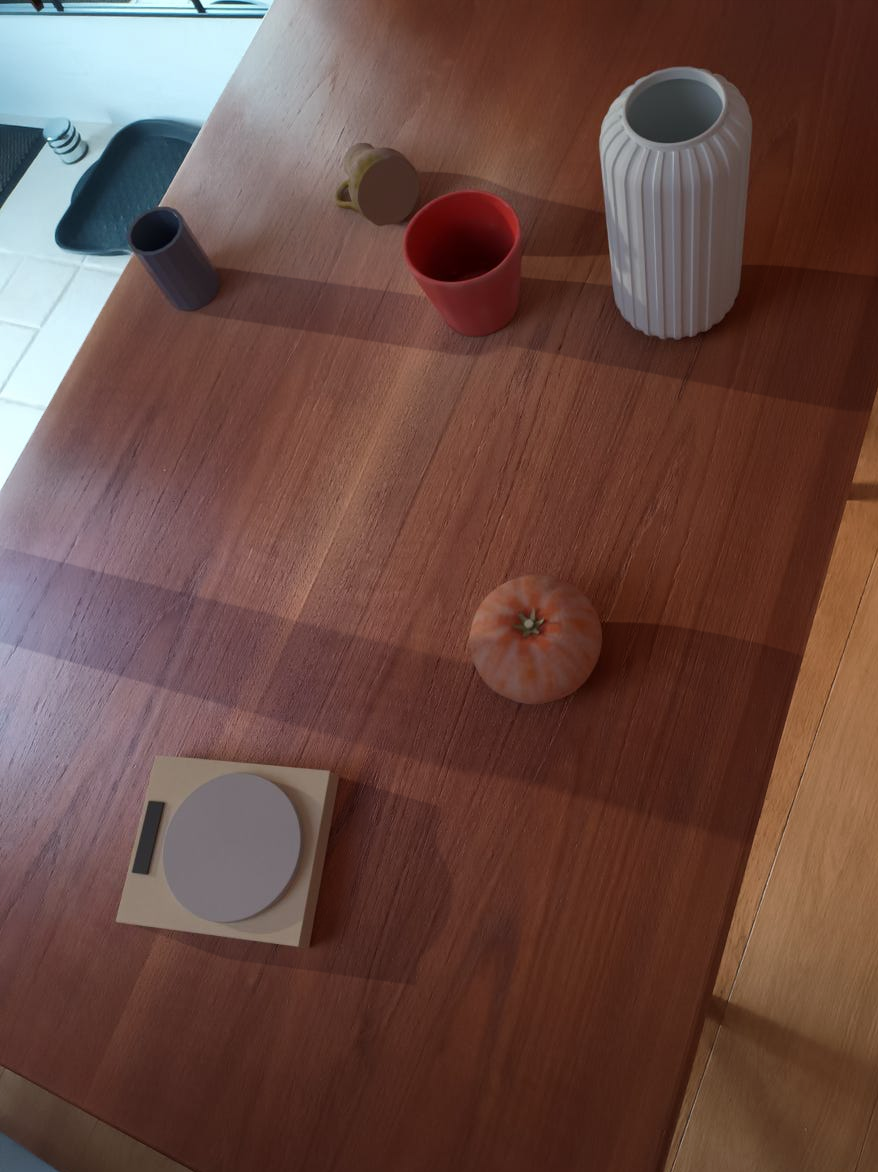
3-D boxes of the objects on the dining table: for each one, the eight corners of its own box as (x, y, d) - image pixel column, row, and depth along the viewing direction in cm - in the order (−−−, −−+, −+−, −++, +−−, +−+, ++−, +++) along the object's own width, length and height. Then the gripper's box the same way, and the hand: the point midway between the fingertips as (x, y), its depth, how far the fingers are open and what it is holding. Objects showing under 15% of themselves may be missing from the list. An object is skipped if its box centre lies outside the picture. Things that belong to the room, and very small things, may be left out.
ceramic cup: (162, 311, 105) (120, 255, 98) (174, 265, 107) (135, 207, 99) (213, 310, 104) (175, 254, 96) (225, 264, 106) (189, 205, 98)
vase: (757, 326, 91) (779, 129, 70) (639, 370, 92) (626, 188, 71) (711, 236, 95) (719, 26, 75) (598, 279, 96) (576, 82, 76)
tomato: (617, 700, 81) (611, 670, 74) (490, 728, 82) (471, 700, 75) (590, 583, 85) (582, 543, 78) (469, 611, 86) (450, 574, 79)
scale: (130, 924, 83) (110, 921, 80) (168, 760, 87) (150, 752, 84) (309, 948, 79) (294, 946, 76) (339, 776, 84) (327, 768, 81)
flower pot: (516, 359, 95) (499, 291, 86) (412, 341, 98) (385, 274, 89) (549, 270, 98) (536, 195, 89) (447, 255, 101) (424, 182, 92)
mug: (384, 150, 108) (397, 99, 98) (416, 235, 108) (433, 193, 98) (319, 168, 106) (327, 118, 96) (353, 254, 106) (363, 213, 97)
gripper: (-238, -122, 77) (-71, 75, 83) (-92, -231, 77) (62, -27, 84) (-205, -84, 83) (-54, 96, 90) (-71, -184, 84) (69, 1, 91)
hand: (2, 36), depth 87 cm, fingers open, 8 cm apart
